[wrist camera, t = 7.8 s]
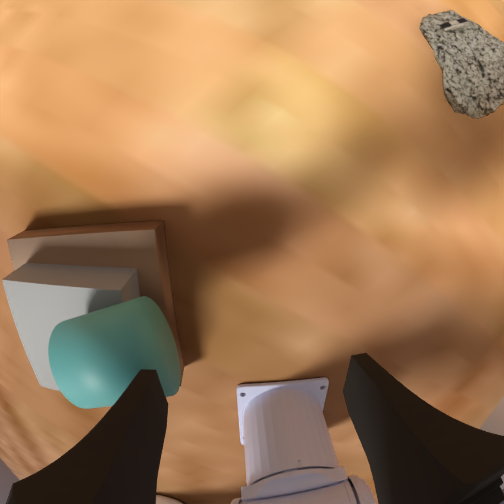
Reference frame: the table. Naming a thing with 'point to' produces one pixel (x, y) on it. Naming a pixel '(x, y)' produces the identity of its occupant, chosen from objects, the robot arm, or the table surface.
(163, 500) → the vodka
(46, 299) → the gray top slab
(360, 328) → the table surface
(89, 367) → the teal cylinder
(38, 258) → the walnut base slab
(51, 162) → the table surface
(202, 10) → the table surface
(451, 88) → the rock sample
